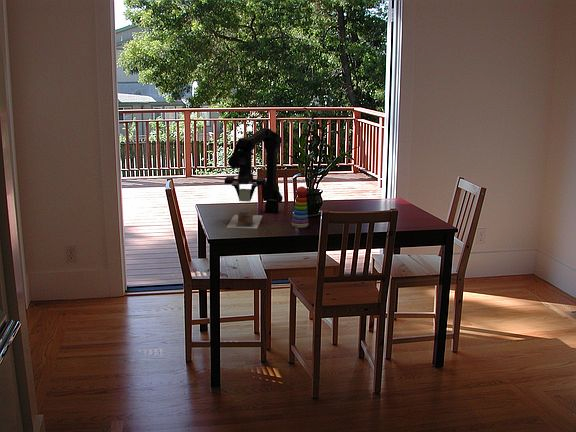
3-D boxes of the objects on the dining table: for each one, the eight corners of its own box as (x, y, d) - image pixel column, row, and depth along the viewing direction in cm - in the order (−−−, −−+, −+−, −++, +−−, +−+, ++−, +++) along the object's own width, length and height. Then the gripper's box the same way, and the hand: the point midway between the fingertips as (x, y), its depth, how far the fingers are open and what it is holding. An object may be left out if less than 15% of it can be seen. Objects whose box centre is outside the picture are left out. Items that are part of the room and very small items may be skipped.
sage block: (251, 199, 323) (251, 189, 322) (249, 201, 318) (249, 190, 317) (240, 199, 324) (240, 188, 323) (239, 201, 319) (239, 190, 318)
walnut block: (252, 223, 320) (252, 212, 319) (251, 226, 314) (251, 215, 313) (239, 222, 320) (239, 212, 319) (238, 225, 314) (237, 215, 313)
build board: (262, 217, 337) (262, 215, 337) (256, 230, 311) (257, 228, 311) (234, 216, 338) (234, 214, 338) (226, 229, 312) (226, 227, 312)
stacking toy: (296, 228, 314) (297, 188, 310) (288, 225, 321) (289, 185, 317) (311, 227, 318) (312, 187, 314) (303, 223, 325) (304, 184, 321)
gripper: (222, 167, 310) (222, 201, 314) (263, 168, 309) (263, 202, 312) (226, 164, 321) (226, 197, 324) (266, 165, 320) (265, 198, 323)
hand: (245, 199), depth 321 cm, fingers closed on sage block, 5 cm apart
